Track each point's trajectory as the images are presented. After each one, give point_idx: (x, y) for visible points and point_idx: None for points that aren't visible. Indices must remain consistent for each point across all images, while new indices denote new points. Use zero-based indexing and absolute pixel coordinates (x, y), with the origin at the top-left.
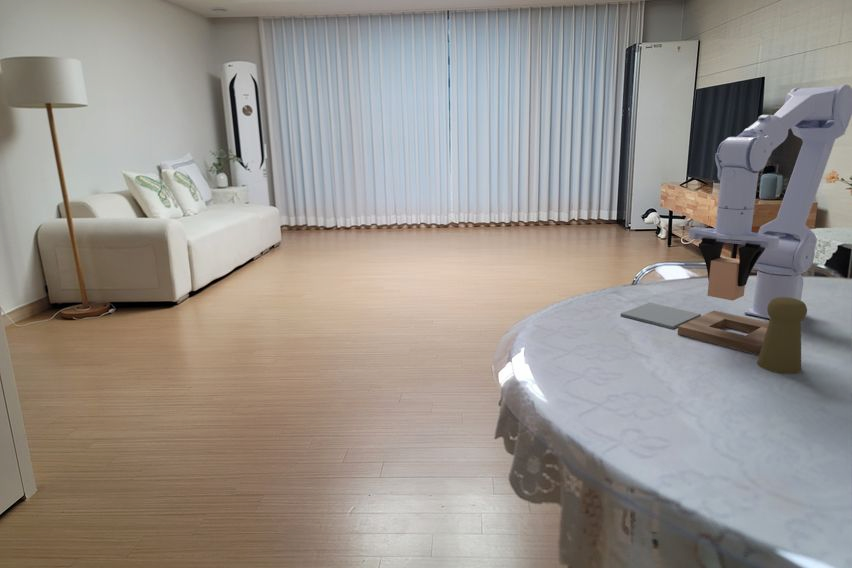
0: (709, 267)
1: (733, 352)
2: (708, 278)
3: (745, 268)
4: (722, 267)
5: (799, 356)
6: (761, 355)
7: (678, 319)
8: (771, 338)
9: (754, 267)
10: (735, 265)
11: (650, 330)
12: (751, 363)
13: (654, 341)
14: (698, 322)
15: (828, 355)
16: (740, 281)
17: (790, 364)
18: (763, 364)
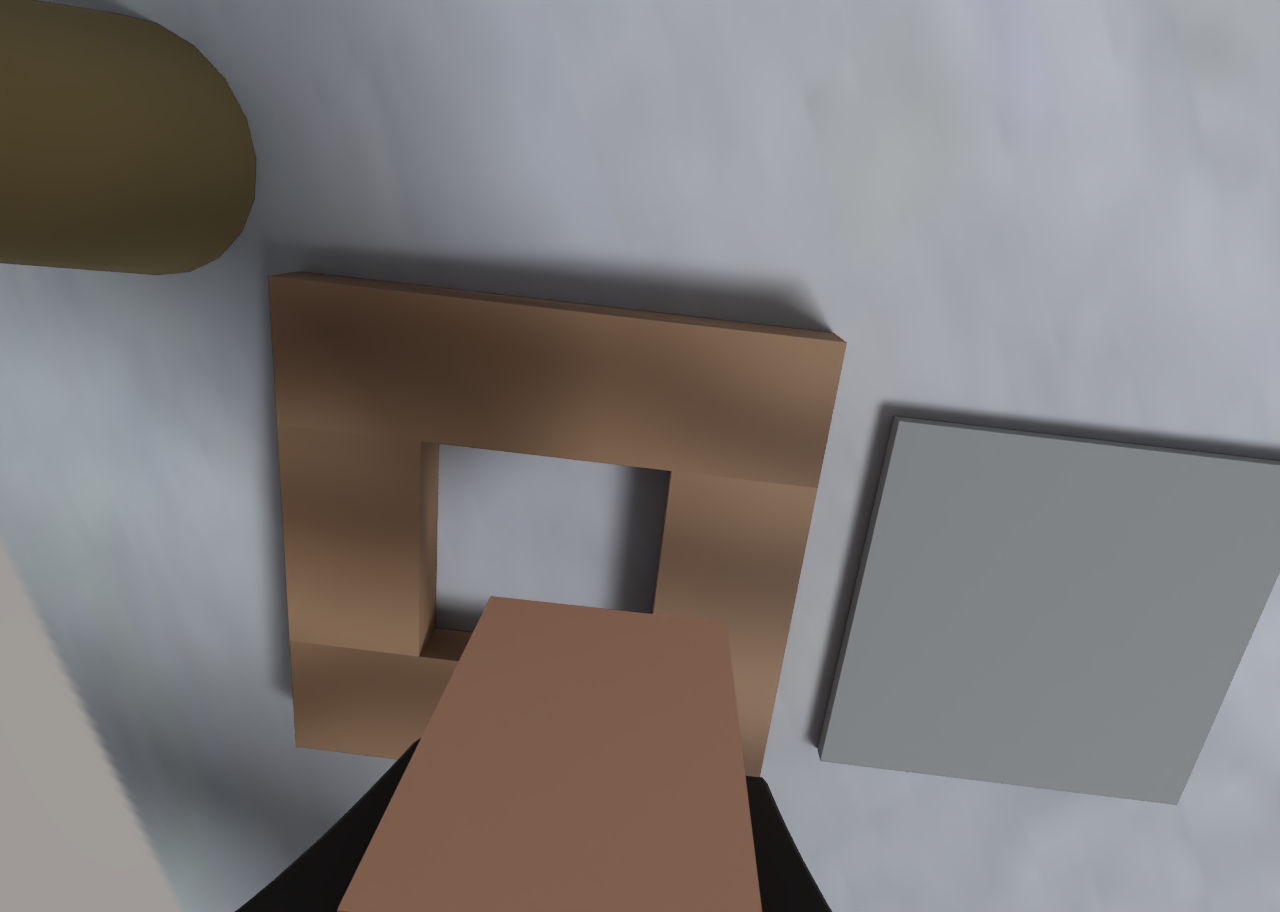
0: (783, 896)
1: (424, 214)
2: (768, 792)
3: (263, 895)
4: (578, 865)
5: None
6: (165, 64)
7: (909, 583)
8: None
9: None
10: (368, 897)
11: (1020, 286)
12: (263, 77)
13: (924, 55)
14: (754, 515)
15: (60, 518)
16: (402, 769)
17: None
18: (164, 35)
